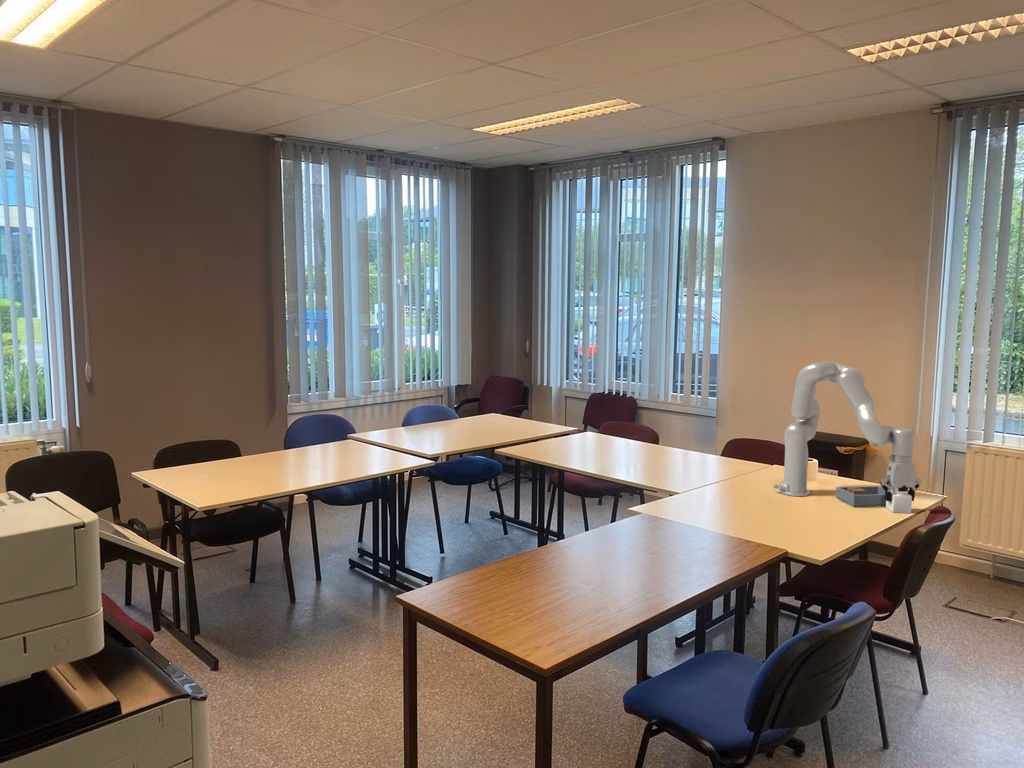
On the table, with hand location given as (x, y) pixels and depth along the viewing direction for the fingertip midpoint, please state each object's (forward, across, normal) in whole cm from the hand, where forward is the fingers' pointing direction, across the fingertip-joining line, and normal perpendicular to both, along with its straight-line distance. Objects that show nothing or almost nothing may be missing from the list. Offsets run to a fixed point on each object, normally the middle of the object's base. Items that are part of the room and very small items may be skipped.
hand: (899, 500), depth 296 cm
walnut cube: (+3, -11, +13) cm, 17 cm away
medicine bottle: (+4, 0, 0) cm, 5 cm away
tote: (+4, -6, +13) cm, 15 cm away
